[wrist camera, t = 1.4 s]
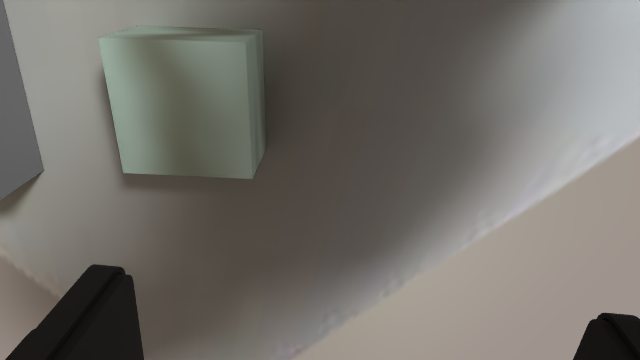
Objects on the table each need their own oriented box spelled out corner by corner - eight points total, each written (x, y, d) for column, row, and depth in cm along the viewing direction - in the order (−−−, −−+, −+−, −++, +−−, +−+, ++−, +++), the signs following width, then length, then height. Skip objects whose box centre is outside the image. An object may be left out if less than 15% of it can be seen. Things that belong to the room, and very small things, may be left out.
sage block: (263, 29, 25) (245, 42, 21) (266, 147, 28) (252, 179, 24) (138, 25, 25) (97, 37, 21) (155, 142, 28) (123, 172, 24)
